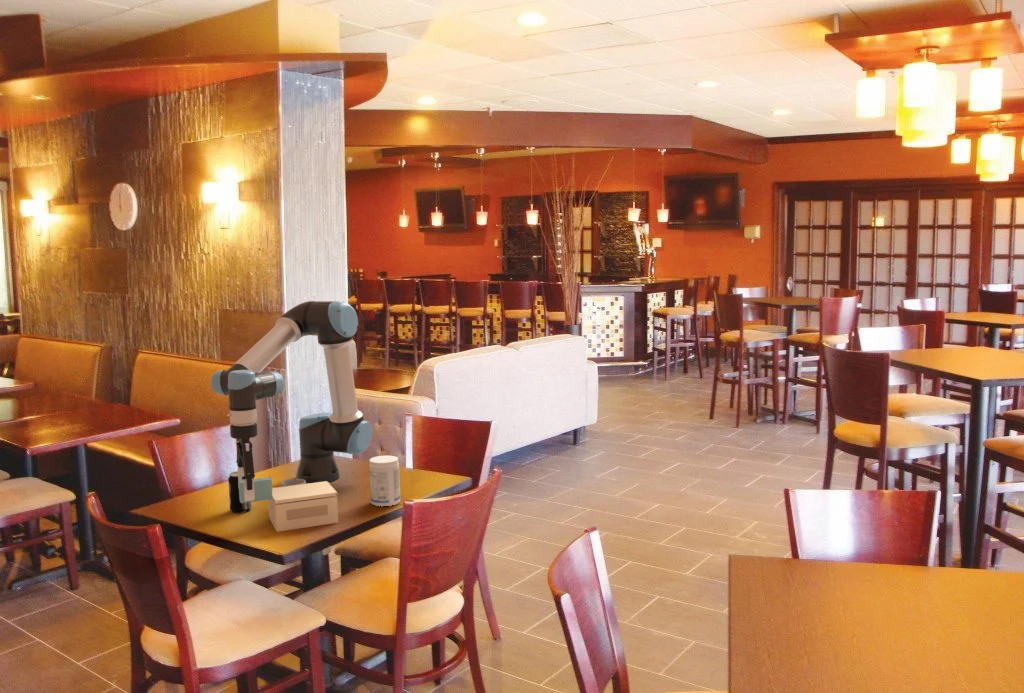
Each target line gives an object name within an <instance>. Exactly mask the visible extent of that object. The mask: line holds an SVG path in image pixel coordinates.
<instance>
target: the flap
mask: <svg viewBox="0 0 1024 693" xmlns="http://www.w3.org/2000/svg"><path fill="white" fill-rule="evenodd" d="M254 494H255V500H251V501H245V497H244V480H241V481H239V498H240V502H241V503H247V502H252V503H253V502H262V501H268V500H269V499H273V501H274V502H275V504H279V503H286V502H294V501H301V500H309V499H316V498H323V497H331V496H337V497H338V495H339V493H338V492H337V490H336V489H335V488H334V487H333V486H332V485H331V483H330V482H327V481H324V482H316V483H305V484H300V485H293V486H285V487H281V486H278V487H273V482H272V478H271V476H267V477H259V478H257V477H256V478H254Z"/></svg>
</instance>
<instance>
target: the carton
mask: <svg viewBox="0 0 1024 693" xmlns="http://www.w3.org/2000/svg"><path fill="white" fill-rule="evenodd" d="M267 501H268V502H267V503H268V519H269V521H271V524H272V525H273V527H274V529H275V531H276V532H284V531H285V532H286V531H291V530H292V531H293V530H298V529H305V528H311V527H317V526H324V525H331V524H338V523H339V512H338V509H339V508H338V495H337V496H331V497H323V498H316V499H309V500H301V501H294V502H286V503H279V504H275V502H274V501H273V499H269V500H267Z"/></svg>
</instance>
